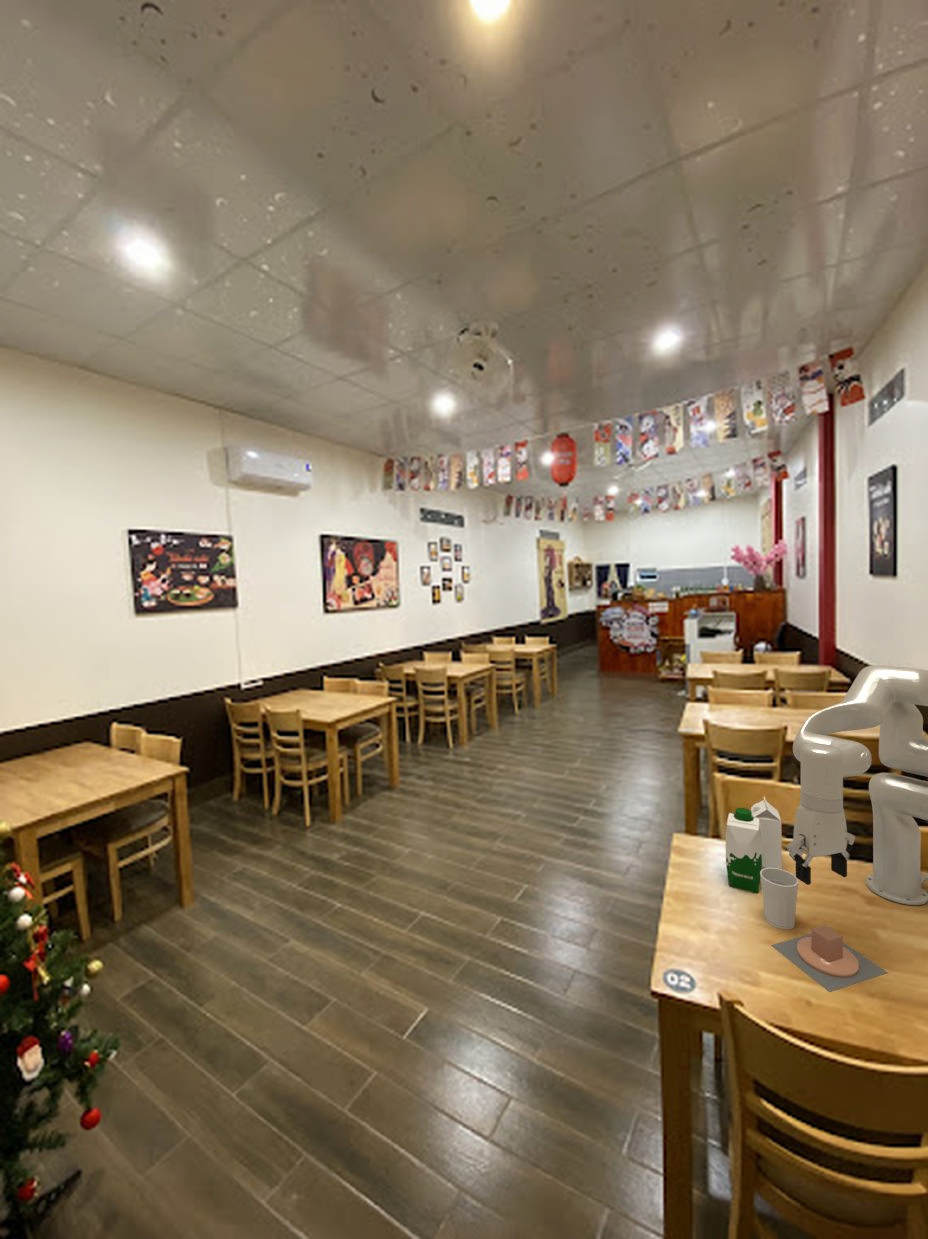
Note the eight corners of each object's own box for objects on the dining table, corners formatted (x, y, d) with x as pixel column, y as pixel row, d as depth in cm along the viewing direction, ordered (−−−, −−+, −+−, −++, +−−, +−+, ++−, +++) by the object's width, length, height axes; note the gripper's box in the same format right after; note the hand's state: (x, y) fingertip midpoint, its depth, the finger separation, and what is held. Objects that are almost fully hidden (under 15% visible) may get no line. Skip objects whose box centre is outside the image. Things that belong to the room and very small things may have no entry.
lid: (822, 936, 117) (822, 911, 117) (871, 970, 106) (871, 943, 106) (785, 947, 114) (785, 922, 114) (831, 983, 104) (831, 955, 103)
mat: (824, 932, 119) (824, 929, 119) (888, 976, 106) (888, 972, 106) (770, 948, 115) (770, 945, 115) (829, 995, 102) (829, 992, 102)
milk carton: (778, 858, 151) (777, 797, 150) (782, 871, 145) (781, 807, 143) (751, 854, 154) (750, 794, 153) (753, 866, 148) (752, 804, 146)
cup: (805, 936, 118) (804, 887, 118) (768, 933, 120) (767, 885, 119) (790, 914, 126) (789, 868, 125) (755, 911, 128) (755, 866, 127)
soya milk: (762, 879, 141) (761, 810, 140) (761, 896, 134) (761, 824, 132) (727, 871, 146) (726, 804, 145) (725, 887, 138) (723, 817, 137)
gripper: (836, 790, 114) (836, 862, 115) (774, 800, 110) (774, 874, 111) (870, 803, 107) (869, 880, 108) (804, 814, 103) (804, 894, 104)
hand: (821, 877), depth 110 cm, fingers open, 9 cm apart
